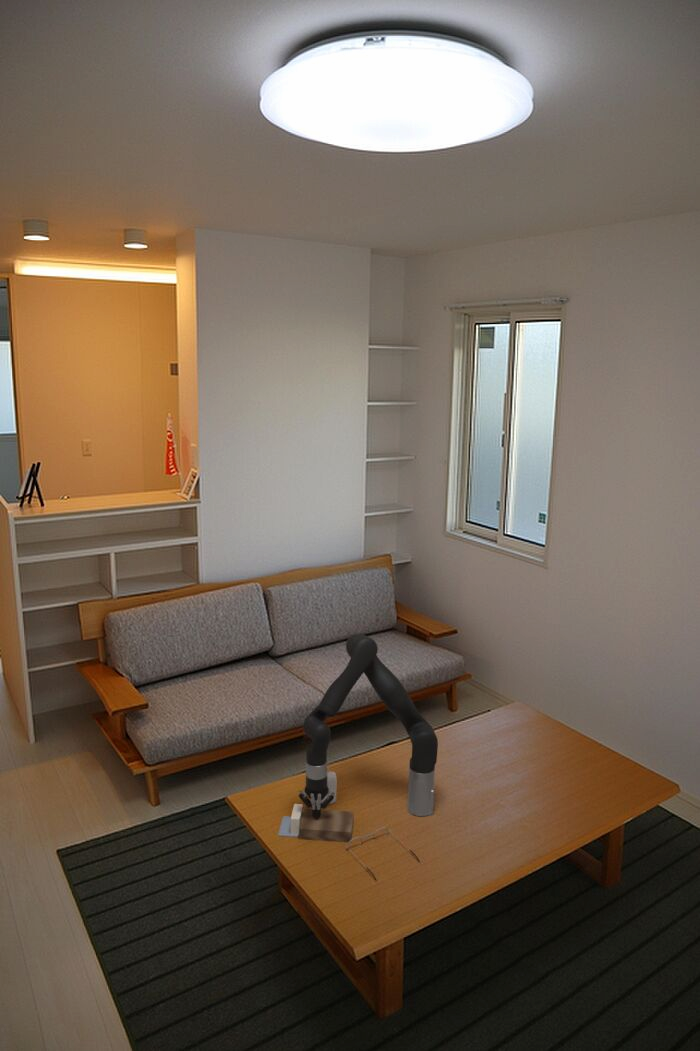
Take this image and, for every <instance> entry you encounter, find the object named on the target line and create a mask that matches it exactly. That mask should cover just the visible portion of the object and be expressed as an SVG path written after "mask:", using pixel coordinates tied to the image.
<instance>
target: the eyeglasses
mask: <svg viewBox="0 0 700 1051" xmlns="http://www.w3.org/2000/svg"><path fill="white" fill-rule="evenodd" d="M384 828H385V829H386V832H385V834H384V836H386V835H387V834H388V832H390V833H391V834H392V835H393V836H394V837H395V838H396V839H397V840H398V841H400V842H401V844H403V842H402V841H401V840H400V839H399V838H398V837H396V835H395V834H394V833H393V832H392V831H391V830H390V828H389V829H388V828H387V826H382V827H379V828H378V829H376V830H375V831H374V832H373V833H369V834H367V835H364V836H363V837H361V836H356V837H353V838H352V839H351V840H350V841H349V842H347V845H345V847H346V849H348V850H349V851H350V852H351V853H352V854H353V855H354V856H355V857H357V855H356V854H355V853H354V852H353V851H352V850H351V848H350V847H349V846H350V843H352V841H353V840H356V839H358V838H361V840H360V842H359V844H358V846H360V845H361V844H362V843H363V840H364V839H365V838H367V837H370V836H373V838H374V839H376V840H377V837H375V836H376V833H377V832H378V831H379V830H381V829H384ZM408 851H409V852H410V853H411V854H412V855H413V856H414V857H415V858H416V859H417V861H418V863H419V862H420V863H421V861H420V860H419V857H418V856H417V854H416V853H414V852H413V851H412V850H411V849H408ZM360 863H361V864H362V865H363V866H364V867H365V868H366V869H367V871H368V872H369V874H371V875H372V876H373V878H374V880H375V882H378V880H377V878H376V876H375V875H374V873H373V872H372V871H371V870H370V869H369V868H368V866H366V865H365V864H364V863H363V862H362V861H360Z"/></svg>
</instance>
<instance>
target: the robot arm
mask: <svg viewBox="0 0 700 1051" xmlns="http://www.w3.org/2000/svg"><path fill="white" fill-rule="evenodd" d="M345 650H346V653H347V655H348V656H349V657H350V659H349V662H348V664H347V665H346V667H345V669H344V670H343V671H342V672H341V673H340V675H339V676H338V677H337V678H336V679H335V680H333V682H332V683H331V684H330V685H329V686H328V688H327V690H326V691H325V693H324V695H323V697H322V698H321V700H320V702H319V704H318V705H317V706H316V707H314V709H313V710H312V711H311V712H309V714H308V715H307V716H306V718H305V719H304V721H303V724H302V731H303V733H304V735H305V736H307V737H308V738H310V739H311V743H310V744H308V745H307V747H306V752H305V753H306V762H305V786H304V790H300V791H299V793H298V798H300V800H301V801H302V803H303V805H305V807H306V808H307V809H312V816H313V817H314V819H319V817H320V816H321V810H325V809H326V807H327V806H329V805H330V804H329V803H330V802H331V801H332V800H333V799H334V793H333V792H332V793H331V792H330V791H329V788H328V786H327V772H328V763H327V762H328V761H327V760H328V759H327V756H328V755H327V754H328V753H327V751H328V748H329V745H330V740H331V737H332V736H331V735H332V734H331V733H332V732H331V728H330V726H329V725H328V724H327V723H326V722H325V720H326V719H327V718H328V717H329V718H335V717H336V716H337V715H338V713H339V711H341V708H342V706H343V704H344V703H345V700H346V699H347V697H348V696H349V694H350V692H351V691H352V690H353V688H354V686H355V685H356V684H357V682H358V681H359V680H360V678H361V677H362V675H363V674H364V675H365V676H366V678H367V680H368V681H369V683H370V684H371V687H372V688H373V690H374V692H375V693H376V694H377V696H378V697H379V699H380V700H381V702H382V703H383V705H384V706H385V707H386V709H387V710H388V711H389V712H390V713H391V714H393V715H394V716H395V717H396V718H397V719H398V720H399V721H400V722H401V724H402V725H403V728H404V729H405V731H406V734H407V735H408V737H409V739H410V743H411V745H412V746H411V757H410V758H409V768H408V769H409V770H408V790H407V792H408V793H407V794H408V795H407V796H408V797H407V811H408V812H409V813H410V814H412V815H414V816H417V817H426V816H427V817H428V816H430V815H434V802H435V771H436V769H435V768H436V765H437V761H438V760H437V759H438V747H439V741H438V737H437V735H436V732H435V731H434V728H433V727H432V725H431V724H430V723H429V722H428V721H427V720H426V718H424V716H423V715H422V714H421V713H420V712H419V710H418V708H416V706H415V704H414V702H413V700H412V698H411V696H410V695H409V692H407V690H406V688H405V687H404V685H403V684H402V682H401V681H400V680H399V678H398V677H397V676H396V675H395V674H394V673H393V672H392V671H391V670H390V669H389V668H388V667H387V666H386V665H385V664H384V663H383V661H381V659H380V658H379V657H378V655H377V654H378V650H379V648H378V644H377V642H376V641H375V640H374V639H373V638H371V637H369V636H367V635H366V634H361V633H355V634H351V635H350V636H349V637H348V639H347V640H346V644H345ZM326 795H327V798H326V799H325V801H324V802H323V803H321V800H323V799H324V797H325V796H326ZM310 799H311V801H310ZM316 800H317V806H316Z"/></svg>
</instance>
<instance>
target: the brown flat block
mask: <svg viewBox="0 0 700 1051" xmlns="http://www.w3.org/2000/svg"><path fill="white" fill-rule="evenodd" d="M354 813H355V812H354V811H351V810H348V811H347V810H337V809H336V810H335V809H334V810H333V809H332V810H331V809H321V816H320V817H319V819H314V817H313V816H312V808H303V814H302V819H301V823H300V827H299V835H298V840H306V841H307V840H308V841H310V840H311V841H323V842H324V841H325V842H338V843H349V841H350V840H351V839H353V838H352V835H353V830H354V823H355V822H354V820H355V819H354V817H355V816H354Z"/></svg>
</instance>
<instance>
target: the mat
mask: <svg viewBox="0 0 700 1051" xmlns="http://www.w3.org/2000/svg"><path fill="white" fill-rule="evenodd" d="M277 836H278V837H291V838H299V835H296V834H291V816H285V815H284V816H282V819H281V823H280V826H279V831H278V834H277Z"/></svg>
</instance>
